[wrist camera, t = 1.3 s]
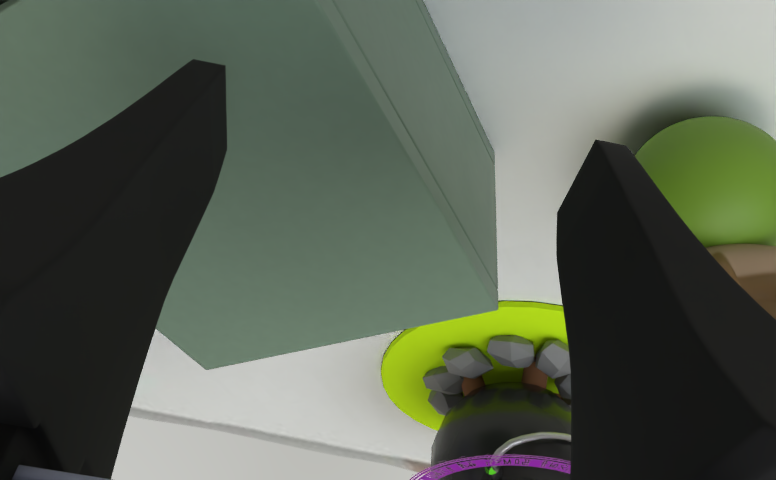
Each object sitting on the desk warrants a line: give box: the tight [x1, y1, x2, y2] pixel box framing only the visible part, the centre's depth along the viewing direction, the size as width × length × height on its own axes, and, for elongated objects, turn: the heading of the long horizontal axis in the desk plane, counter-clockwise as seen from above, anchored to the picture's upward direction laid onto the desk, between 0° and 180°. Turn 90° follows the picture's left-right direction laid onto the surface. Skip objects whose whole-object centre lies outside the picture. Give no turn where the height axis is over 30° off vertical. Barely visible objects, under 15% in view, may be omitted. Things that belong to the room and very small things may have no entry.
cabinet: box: [0, 0, 498, 370], centre depth 21 cm, size 14×12×8 cm
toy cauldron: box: [381, 301, 571, 480], centre depth 33 cm, size 15×15×11 cm
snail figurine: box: [635, 116, 776, 319], centre depth 20 cm, size 5×6×12 cm
